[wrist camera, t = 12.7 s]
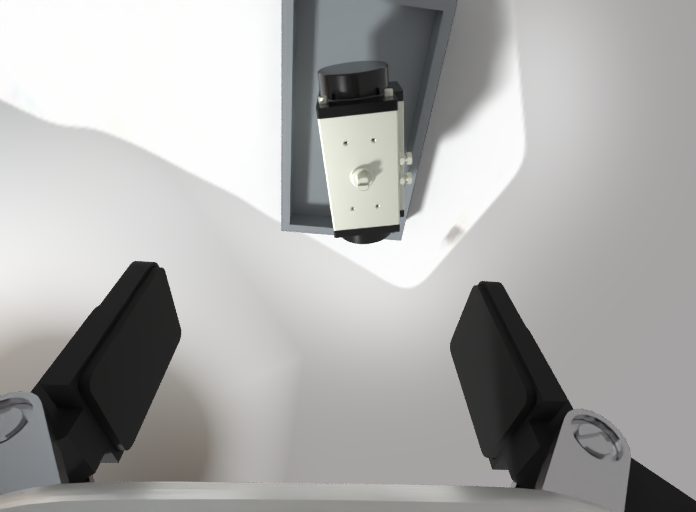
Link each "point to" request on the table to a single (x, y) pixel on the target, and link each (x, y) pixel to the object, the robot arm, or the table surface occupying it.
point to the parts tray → (341, 47)
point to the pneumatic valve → (363, 149)
